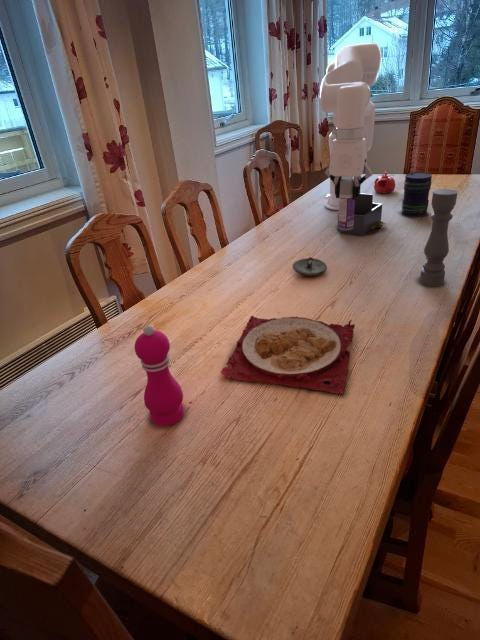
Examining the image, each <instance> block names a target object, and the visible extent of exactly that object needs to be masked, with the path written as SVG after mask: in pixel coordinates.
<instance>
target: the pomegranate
mask: <svg viewBox="0 0 480 640" xmlns="http://www.w3.org/2000/svg"><path fill="white" fill-rule="evenodd" d="M392 176H395V175H393V174H390V175H388V171H385V172H384V174H383V173H382V174H380V175H378V176H377V177H376V179H375V180H374V185H373V189H374V192H375V193H379V194H390V193H392V192H394V191H395V189H396V180H395V179H394V178H393V177H392Z"/></svg>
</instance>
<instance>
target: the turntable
mask: <svg viewBox="0 0 480 640" xmlns="http://www.w3.org/2000/svg"><path fill="white" fill-rule="evenodd" d="M379 225H381V224H379ZM381 230H382V227H375V228H374V229H370V230H369V231H368V232H366V233H365V234H364V236H366V235H372V234H376V233H378V232H380V231H381ZM342 233H344V234H346V235H352V236H360V235H359V234H352V233H345V232H342Z"/></svg>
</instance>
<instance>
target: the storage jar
mask: <svg viewBox="0 0 480 640" xmlns="http://www.w3.org/2000/svg"><path fill="white" fill-rule="evenodd" d="M432 178H433V174H431V173H429V172H419V171H418V172H410V173H406V174H405V175H404V182H403V191H404V192H403V198H402V201H401V202H402V203H401V211H400V214H401V215H402V216H404V217H407V218H408V217H410V218H419V217H421V218H422V217H424V216H427V214H428V208H429V202H430V200H429V195H430V191H431V188H432V187H431V186H432Z"/></svg>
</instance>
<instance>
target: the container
mask: <svg viewBox="0 0 480 640" xmlns="http://www.w3.org/2000/svg"><path fill="white" fill-rule="evenodd" d="M354 186H355V182H354V177H353V178H345V179H341V180H340V194H339V210H338V213H339V224H338V223H337V229H338V228H339V229H340V230H351V229H353V226H354V206H355V200H353V187H354Z"/></svg>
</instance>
